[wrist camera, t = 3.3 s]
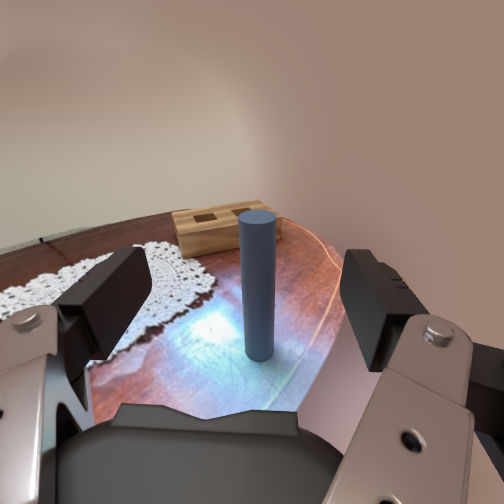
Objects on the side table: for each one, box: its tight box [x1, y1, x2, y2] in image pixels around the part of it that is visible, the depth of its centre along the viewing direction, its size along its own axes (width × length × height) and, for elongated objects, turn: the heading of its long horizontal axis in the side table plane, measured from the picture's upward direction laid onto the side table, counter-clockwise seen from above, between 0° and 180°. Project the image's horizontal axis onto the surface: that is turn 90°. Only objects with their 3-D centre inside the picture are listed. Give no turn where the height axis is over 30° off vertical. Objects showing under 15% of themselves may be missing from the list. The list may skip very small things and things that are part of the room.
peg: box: [238, 210, 277, 361], centre depth 25 cm, size 3×3×16 cm
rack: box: [171, 200, 282, 259], centre depth 54 cm, size 12×20×5 cm, turn 112°
